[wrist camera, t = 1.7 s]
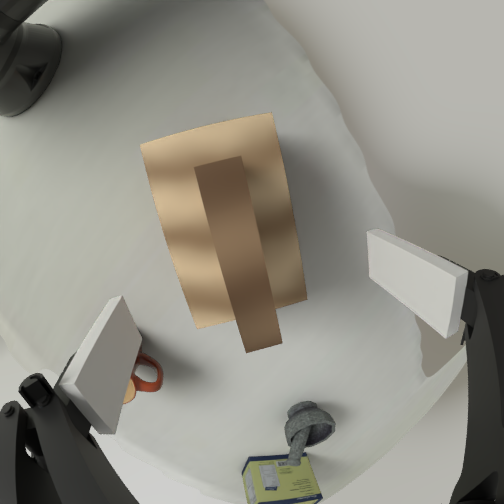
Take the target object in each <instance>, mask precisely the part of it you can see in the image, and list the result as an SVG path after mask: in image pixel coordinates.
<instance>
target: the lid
mask: <svg viewBox="0 0 504 504" xmlns="http://www.w3.org/2000/svg"><path fill="white" fill-rule="evenodd" d="M140 147H141V151H142V156H143V160H144V164H145V168H146V172H147V176H148V180H149V184H150V187H151V191H152V195H153V198H154V202H155V206H156V209H157V213H158V216H159V219H160V223H161V226H162V229H163V233H164V236H165V239H166V242H167V245H168V249H169V252H170V255H171V258H172V261H173V264H174V267H175V270H176V273H177V276H178V279H179V281H180V284H181V287H182V290H183V293H184V295H185V298H186V301H187V304H188V306H189V309H190V312H191V314H192V317H193V319H194V322H195V325H196V327H197V329H200V328H204V327H208V326H213V325H217V324H221V323H225V322H229V321H233V320H236V322H237V325H238V328H239V332H240V335H241V338H242V341H243V344H244V348H245V351H246V353H249V352H252V351H256V350H260V349H264V348H267V347H271V346H274V345H278V344H281V343H282V338H281V333H280V329H279V324H278V319H277V315H276V310H275V309H277V308H280V307H284V306H287V305H291V304H294V303H298V302H301V301H304V300H307V293H306V286H305V279H304V273H303V267H302V261H301V255H300V249H299V243H298V237H297V231H296V226H295V220H294V215H293V209H292V204H291V199H290V194H289V189H288V184H287V179H286V174H285V169H284V164H283V160H282V155H281V150H280V146H279V141H278V137H277V132H276V128H275V124H274V119H273V115H272V112H271V113H265V114H259V115H253V116H248V117H243V118H237V119H233V120H228V121H223V122H219V123H215V124H210V125H206V126H202V127H198V128H194V129H190V130H187V131H183V132H180V133H176V134H173V135H169V136H166V137H163V138H159V139H156V140H153V141H150V142H147V143H144V144H141V145H140Z"/></svg>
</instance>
